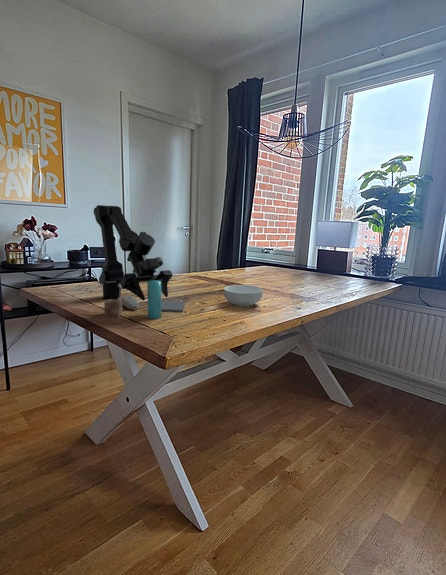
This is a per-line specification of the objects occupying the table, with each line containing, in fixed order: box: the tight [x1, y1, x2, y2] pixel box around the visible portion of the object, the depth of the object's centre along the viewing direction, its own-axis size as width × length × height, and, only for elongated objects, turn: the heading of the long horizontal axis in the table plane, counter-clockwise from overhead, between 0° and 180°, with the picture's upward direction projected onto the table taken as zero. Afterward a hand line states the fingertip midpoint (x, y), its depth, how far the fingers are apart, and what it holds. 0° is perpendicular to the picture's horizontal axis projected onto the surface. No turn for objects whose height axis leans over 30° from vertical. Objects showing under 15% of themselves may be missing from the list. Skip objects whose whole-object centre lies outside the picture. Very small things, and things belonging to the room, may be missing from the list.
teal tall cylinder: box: [146, 280, 162, 320], centre depth 117 cm, size 5×5×13 cm
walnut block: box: [103, 299, 124, 317], centre depth 119 cm, size 5×5×5 cm
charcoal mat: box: [161, 300, 186, 313], centre depth 132 cm, size 13×13×1 cm
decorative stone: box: [121, 294, 140, 311], centre depth 131 cm, size 6×16×3 cm, turn 29°
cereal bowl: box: [223, 284, 264, 308], centre depth 141 cm, size 17×17×7 cm
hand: (155, 298), depth 116 cm, fingers open, 9 cm apart
